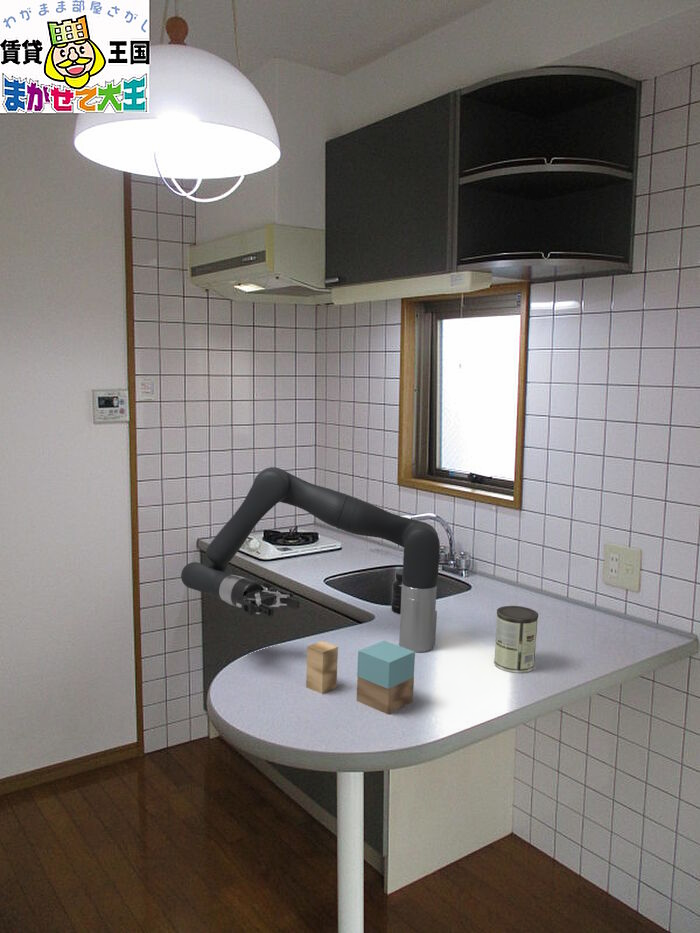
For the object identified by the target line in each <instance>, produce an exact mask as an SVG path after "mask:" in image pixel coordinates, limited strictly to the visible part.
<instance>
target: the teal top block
mask: <svg viewBox="0 0 700 933" xmlns="http://www.w3.org/2000/svg"><path fill="white" fill-rule="evenodd" d="M357 652H358V653H357V668H356V669H357V671H356V676H357V677H360V678H363V679H365V680H368V681H370V682H372V683H375V684H377V685H380V686H382V687H385V688H387V689H389V688H392V687H394V686H396V685H398V684H400V683H402V682H404V681H407V680H409V679H411V678H413V677H414V678H415V665H416V664H415V663H416V662H415V661H416V652H415V651H412V650H409V649H406V648H403V647H401V646H399V644H398V645H397V644H394V643H391V642H389V641H386V640H382V641H380V642H378V643H377V642H376V643H375V644H372V645H369V646H367V647H366V646H365V647H364V648H362V649H358V650H357Z"/></svg>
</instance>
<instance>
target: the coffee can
mask: <svg viewBox="0 0 700 933" xmlns="http://www.w3.org/2000/svg"><path fill="white" fill-rule="evenodd" d="M538 618H539V613H538V611H536V610H534V609H532V608H529V607H524V606H521V605H520V606H518V605H505V606H504V605H503V606H500V607H498V608H497V609H496V628H495V644H494V659H493V664H495V665H494V667H496V668H498V669H500V670H501V669H502V671H505V672H509V673H513V674H514V673H515V674H516V673H517V674H525V673H526V674H527V673H530V672H531V671H533V670H534V669H535V658H536V648H537V647H536V645H537V635H538V634H537V631H538Z"/></svg>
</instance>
